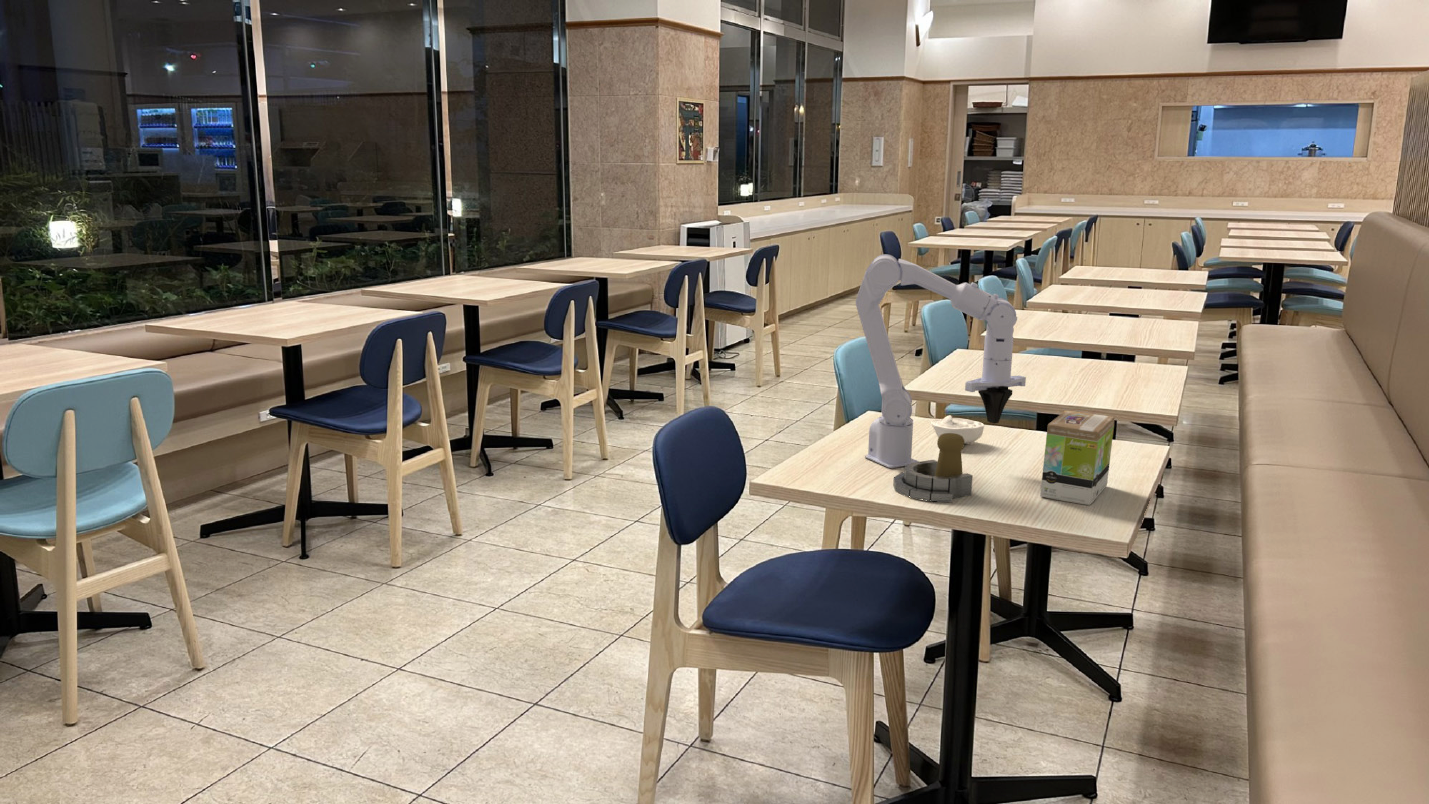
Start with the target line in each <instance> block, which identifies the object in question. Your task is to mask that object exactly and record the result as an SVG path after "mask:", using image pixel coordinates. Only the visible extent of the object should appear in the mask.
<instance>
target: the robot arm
mask: <svg viewBox="0 0 1429 804" xmlns="http://www.w3.org/2000/svg"><path fill="white" fill-rule="evenodd" d="M899 281H900V286H908V285H917V286H919V287H921V288H923V289H926V290H929V291H931V292H933V293H935V294H938V295H939V296H942V297H944V298H947V299H949V300H950V303H951V306H952V308H953V309H955V310H957V311H959V312H961V313H964V314H965V315H968V316H969V317H972V318H974V319H976V320H979V321H981V322H982V321H986V322H987V323H986V330H985V331H986V333H985V335H984V343H983V359H982V371H981V372H982V375H981V377H980V378H979V377H978V378H975V379H972V380H971V379H970V380H967V381H965V386H964V388H965V389H964V391H965V392H969V393H975V392H976V391H977V392H978V394H979V397H980V398H981V400H982V403H983V407H984V410H985V415H986V419H987V422H988V423H990V424H999V422H1000V420H1001V416H1002V414H1003V411H1004V409H1005V406H1006V404H1007V403H1008V402H1009V400H1010V398H1011V397H1012V395H1013V389H1010V388H1013V387H1025V386H1026V380H1027V377H1025V376H1023V375H1012V363H1013V350H1014V326H1015V325H1016V323H1017V321H1018V316H1017V312H1016V309H1015V307H1014V306H1013V305H1012V304H1011V302H1010V301H1008V300H1006V299H1005V298H1003V297H1000V295H999V294H996V293H993V294H991V293H989V292H987V291H986V290H985V291H984V290H983V289H980V288H979V287H978V286H979V285H978V284H977V283H975V282H973V281H972V282H971V283H968V282H962V283H960V284H955V283H953V282H951V281H949V280H947V279H945V278H943V277H942V276H939V275H938V274H935V273H934V272H932V271H930V270H928V269H926V268H924V267H922V266H920V265H918V264H916V263H913V262H911V261H908V260H906V259H901V258H898V259H897V258H896V257H894V256H893V255H891V254H886V253H885V254H880V255H878V256H877V257H874V259H873V260H872V262H871V263H870V264H869V266H868V267H867V268H866V270H865V272H864V275H863V278H862V281H861V284H860V287H859V290H858V291H857V295H856V299H855V306H856V307H855V308H856V310H857V313H858V317H859V320H860V323H861V327H862V331H863V333H864V337H865V341H866V344H867V348H868V350H869V354H870V358H871V361H872V364H873V367H874V370H875V374H876V378H877V381H878V382H877V383H878V385H879V391H880V396H881V398H882V401H881V416H879V417H876V418H875V419H874V420H873V421H872V422H871V424H870V426H869V429H868V430H869V431H868V448H867V449H868V452H867V454H865V455H864V458H865V459H868V460H870V461H873V462H874V463H877V464H879V465H882V466H884V467H886V468H888V469H894V468H901V467H905V466H907V465H908V464H910V463H914V462H920V461H919V460H917V459H914V458H912V451H913V449H912V448H913V432H914V430H913V429H914V419H913V418H911V417H912V414H913V407H912V405H913V399H912V396H911V393H910V392H909V391H908V390H907V389H906V388H905V386H904V384H903V381H902V378H901V375H900V372H899V369H898V365H897V362H896V359H895V355H894V350H893V348H892V344H891V341H890V338H889V335H888V331H887V328H886V325H885V321H884V316H883V313H882V311H881V307H880V304H881V302H882V300H883V298H884V297H885V296H886V294H887V292H889V291H890V290H891V289H892V288H893V287H894V286H896V285H897V284H898V282H899Z"/></svg>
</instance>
